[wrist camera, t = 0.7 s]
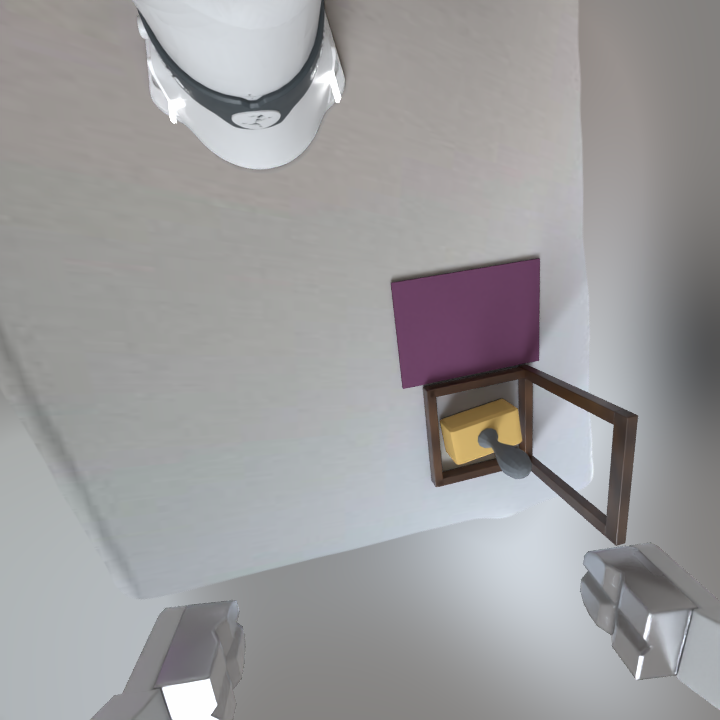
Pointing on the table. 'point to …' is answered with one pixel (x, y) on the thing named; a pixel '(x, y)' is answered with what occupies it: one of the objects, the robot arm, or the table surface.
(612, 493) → the stamp rack
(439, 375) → the felt pad
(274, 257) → the table surface
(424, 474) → the table surface
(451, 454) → the rubber stamp
